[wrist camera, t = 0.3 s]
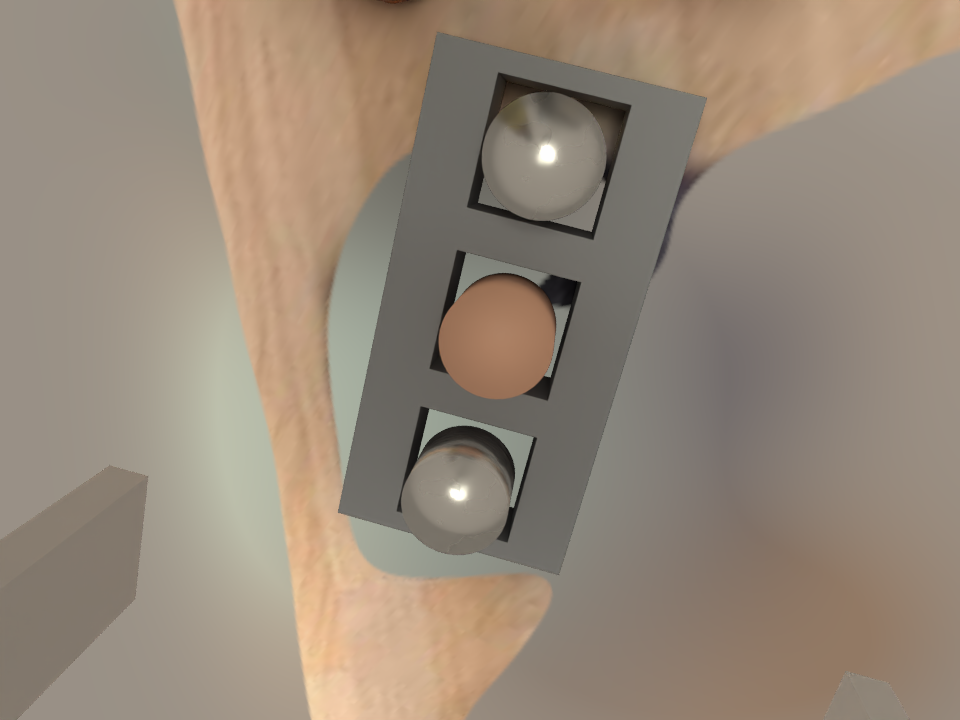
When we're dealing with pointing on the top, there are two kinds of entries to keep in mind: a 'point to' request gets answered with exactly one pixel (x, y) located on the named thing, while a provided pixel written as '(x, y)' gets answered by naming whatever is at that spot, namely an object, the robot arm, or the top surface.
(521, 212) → the knob
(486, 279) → the middle knob
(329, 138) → the top surface
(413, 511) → the knob
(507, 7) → the top surface
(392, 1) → the sauce bottle
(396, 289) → the knob mount
